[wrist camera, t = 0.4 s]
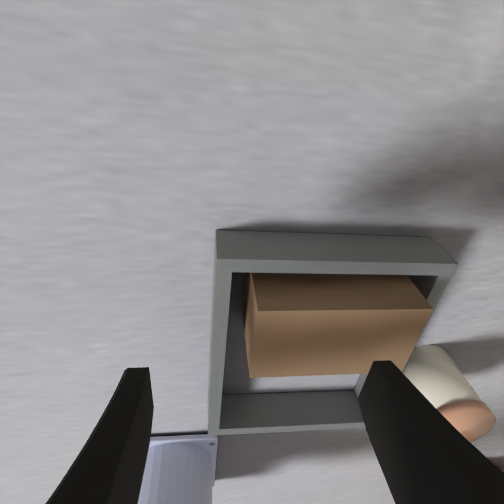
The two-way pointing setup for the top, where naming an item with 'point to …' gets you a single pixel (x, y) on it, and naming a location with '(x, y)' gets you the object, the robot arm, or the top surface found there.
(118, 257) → the top surface
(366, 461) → the top surface
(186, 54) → the top surface
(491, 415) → the jar
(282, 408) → the tote
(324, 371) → the block
